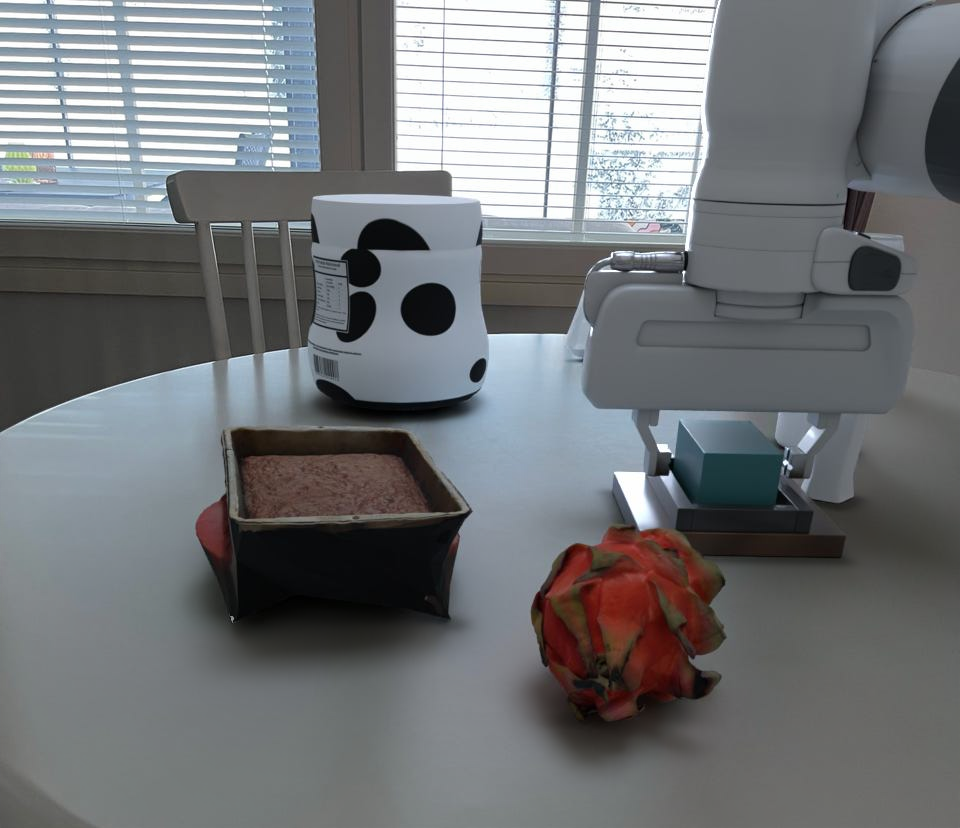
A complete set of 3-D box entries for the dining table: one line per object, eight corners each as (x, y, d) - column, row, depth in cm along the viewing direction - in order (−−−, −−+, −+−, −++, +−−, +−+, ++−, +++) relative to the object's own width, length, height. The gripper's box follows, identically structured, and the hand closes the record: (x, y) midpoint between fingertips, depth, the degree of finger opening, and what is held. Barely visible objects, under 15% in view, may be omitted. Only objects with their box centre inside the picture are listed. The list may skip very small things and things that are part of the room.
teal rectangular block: (740, 482, 67) (750, 420, 65) (772, 522, 60) (784, 454, 58) (671, 481, 67) (679, 419, 65) (694, 521, 60) (704, 453, 58)
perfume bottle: (864, 507, 68) (914, 287, 61) (801, 502, 68) (844, 284, 61) (853, 486, 72) (899, 279, 65) (794, 482, 72) (833, 275, 65)
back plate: (785, 494, 70) (792, 455, 68) (841, 557, 59) (851, 512, 58) (612, 491, 70) (615, 451, 68) (637, 554, 59) (642, 509, 58)
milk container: (500, 385, 98) (506, 197, 90) (470, 429, 83) (473, 208, 75) (342, 375, 101) (333, 191, 92) (285, 416, 86) (268, 200, 77)
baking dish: (444, 555, 63) (429, 404, 60) (493, 643, 46) (476, 440, 43) (226, 582, 61) (198, 427, 58) (197, 683, 45) (154, 474, 41)
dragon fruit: (658, 659, 50) (602, 815, 41) (537, 558, 49) (453, 696, 40) (775, 564, 45) (740, 721, 36) (640, 449, 44) (569, 580, 35)
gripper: (592, 256, 53) (576, 487, 60) (947, 263, 54) (892, 493, 60) (581, 244, 59) (567, 458, 65) (902, 252, 59) (856, 463, 66)
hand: (725, 475), depth 63 cm, fingers open, 8 cm apart
